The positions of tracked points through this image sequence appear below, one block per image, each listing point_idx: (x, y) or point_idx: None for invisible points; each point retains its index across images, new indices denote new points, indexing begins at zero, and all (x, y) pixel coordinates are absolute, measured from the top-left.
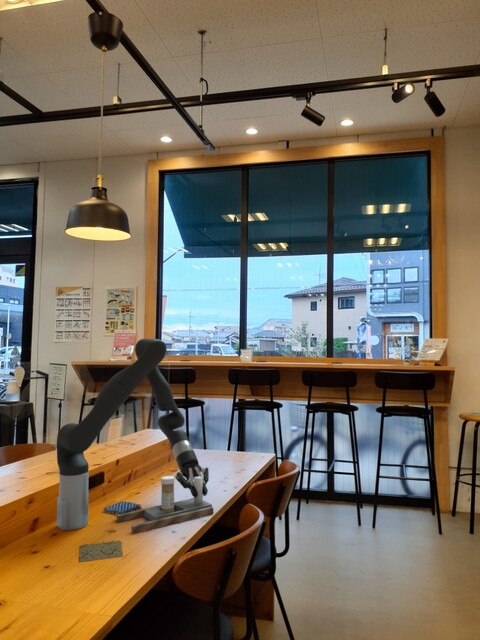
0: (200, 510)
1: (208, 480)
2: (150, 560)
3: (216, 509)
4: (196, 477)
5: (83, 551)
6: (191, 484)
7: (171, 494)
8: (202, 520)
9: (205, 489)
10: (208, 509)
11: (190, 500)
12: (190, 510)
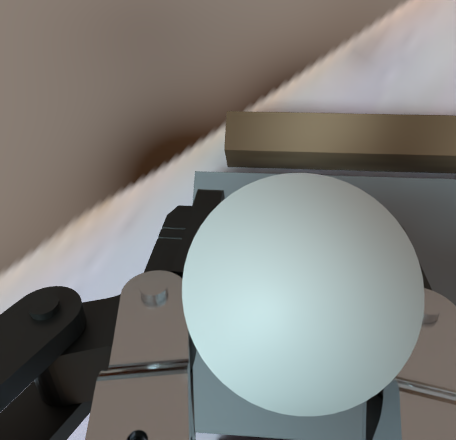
0: (360, 121)
1: (34, 293)
2: None
3: (149, 198)
4: (324, 335)
5: None
6: (442, 308)
7: None
8: (382, 62)
9: (202, 210)
10: (279, 113)
11: (290, 433)
12: (434, 182)
